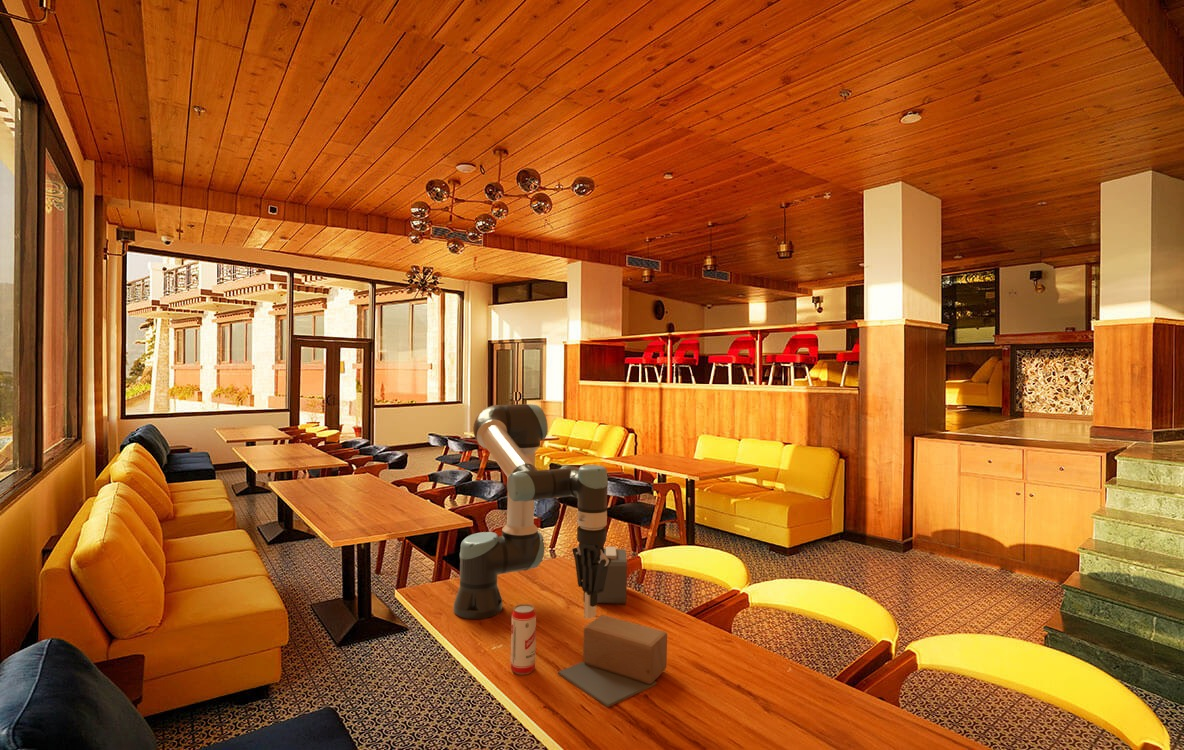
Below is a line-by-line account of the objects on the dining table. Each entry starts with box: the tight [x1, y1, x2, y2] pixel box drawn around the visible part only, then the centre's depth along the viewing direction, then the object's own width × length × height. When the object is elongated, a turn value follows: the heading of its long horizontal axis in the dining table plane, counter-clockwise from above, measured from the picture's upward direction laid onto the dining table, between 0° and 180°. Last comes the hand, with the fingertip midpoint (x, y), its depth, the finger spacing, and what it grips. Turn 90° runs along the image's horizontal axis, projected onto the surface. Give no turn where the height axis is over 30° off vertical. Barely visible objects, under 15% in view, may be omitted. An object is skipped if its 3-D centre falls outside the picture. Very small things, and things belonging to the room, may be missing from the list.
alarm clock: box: [597, 546, 628, 605], centre depth 208 cm, size 16×11×16 cm
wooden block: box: [582, 614, 668, 684], centre depth 159 cm, size 10×10×20 cm
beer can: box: [510, 603, 537, 676], centre depth 158 cm, size 6×6×16 cm
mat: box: [557, 660, 657, 708], centre depth 154 cm, size 19×16×1 cm
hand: (590, 616), depth 159 cm, fingers closed
